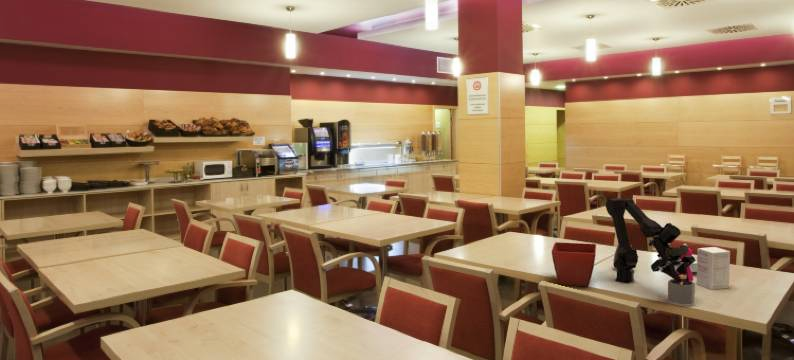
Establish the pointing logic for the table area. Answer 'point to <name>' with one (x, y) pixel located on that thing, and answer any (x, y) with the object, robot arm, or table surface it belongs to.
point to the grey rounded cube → (681, 293)
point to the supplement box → (713, 267)
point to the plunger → (682, 277)
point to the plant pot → (574, 263)
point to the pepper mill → (689, 266)
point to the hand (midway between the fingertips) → (684, 281)
